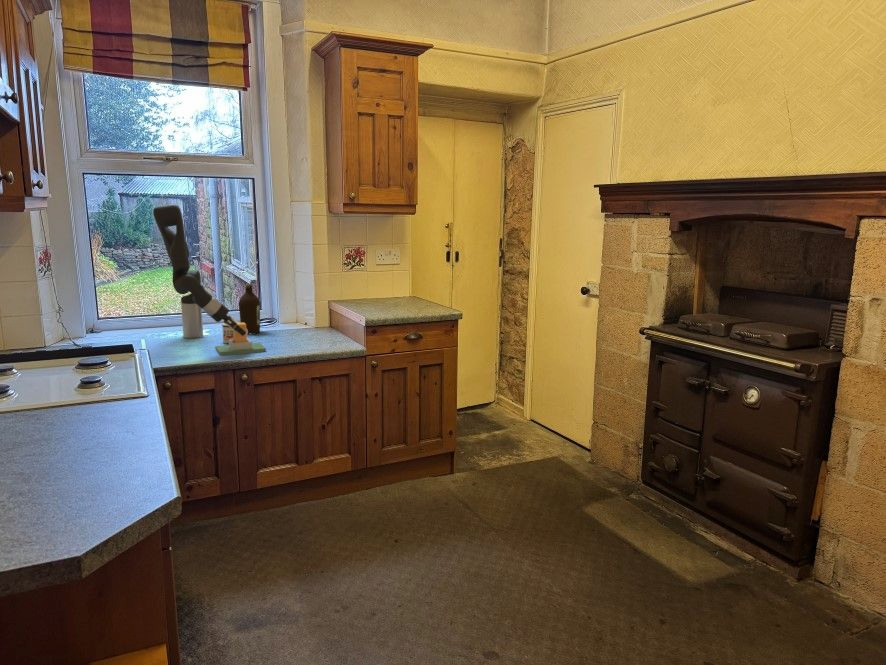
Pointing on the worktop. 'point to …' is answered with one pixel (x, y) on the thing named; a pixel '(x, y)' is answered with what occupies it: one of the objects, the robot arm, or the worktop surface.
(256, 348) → the deck plate
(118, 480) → the worktop surface
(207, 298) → the robot arm
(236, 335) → the orange wooden block
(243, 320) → the olive oil
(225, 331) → the teacup with lid
